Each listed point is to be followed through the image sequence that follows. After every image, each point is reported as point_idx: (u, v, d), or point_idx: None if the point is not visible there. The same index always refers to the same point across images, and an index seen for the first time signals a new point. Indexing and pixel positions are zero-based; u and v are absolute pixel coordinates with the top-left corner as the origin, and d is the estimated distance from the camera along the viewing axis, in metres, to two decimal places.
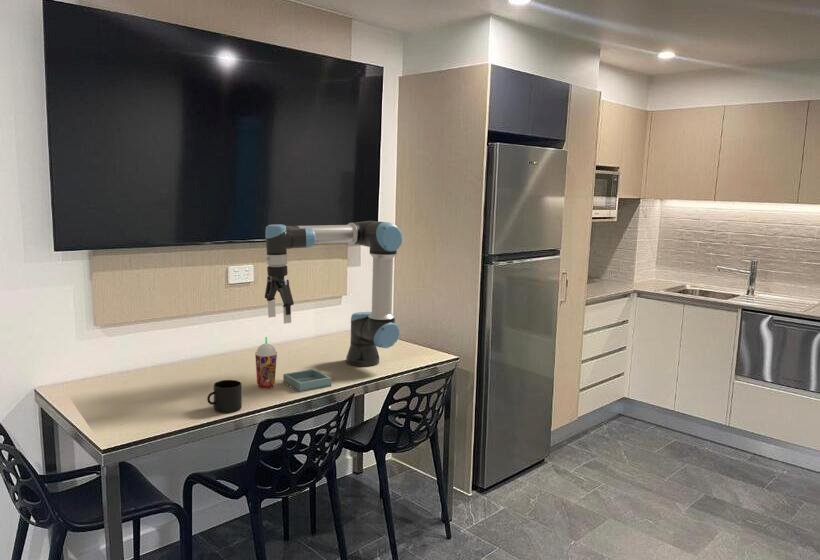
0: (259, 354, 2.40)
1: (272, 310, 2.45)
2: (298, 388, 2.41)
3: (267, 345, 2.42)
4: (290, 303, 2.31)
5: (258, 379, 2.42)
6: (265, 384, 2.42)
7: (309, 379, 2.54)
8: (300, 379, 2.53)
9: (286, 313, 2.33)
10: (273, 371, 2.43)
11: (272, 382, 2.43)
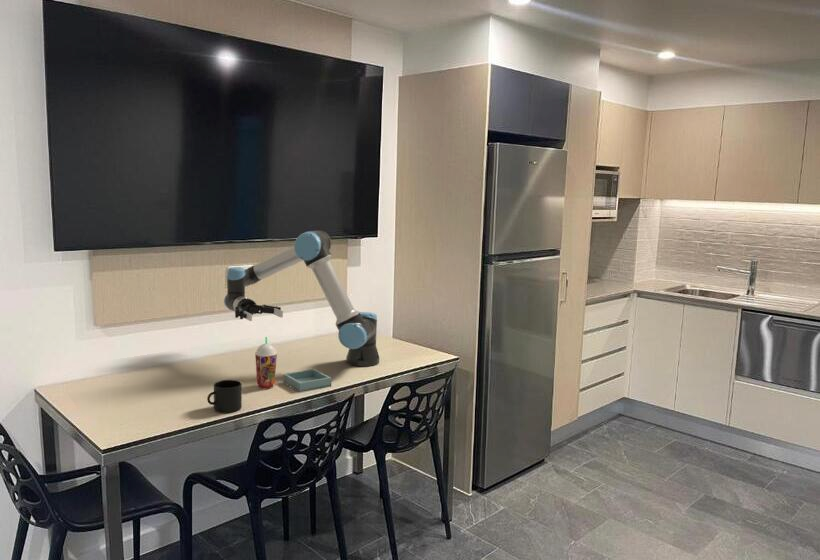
0: (259, 354, 2.40)
1: (278, 312, 2.60)
2: (298, 388, 2.41)
3: (267, 345, 2.42)
4: (235, 314, 2.54)
5: (258, 379, 2.42)
6: (265, 384, 2.42)
7: (309, 379, 2.54)
8: (300, 379, 2.53)
9: (244, 317, 2.53)
10: (273, 371, 2.43)
11: (272, 382, 2.43)
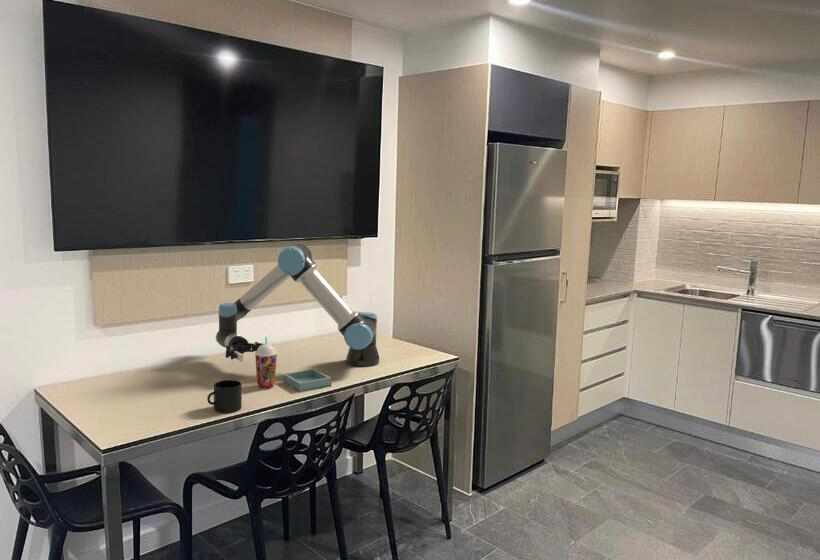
0: (259, 354, 2.40)
1: None
2: (298, 388, 2.41)
3: (267, 345, 2.42)
4: (226, 354, 2.49)
5: (258, 379, 2.42)
6: (265, 384, 2.42)
7: (309, 379, 2.54)
8: (300, 379, 2.53)
9: (235, 358, 2.47)
10: (273, 371, 2.43)
11: (272, 382, 2.43)
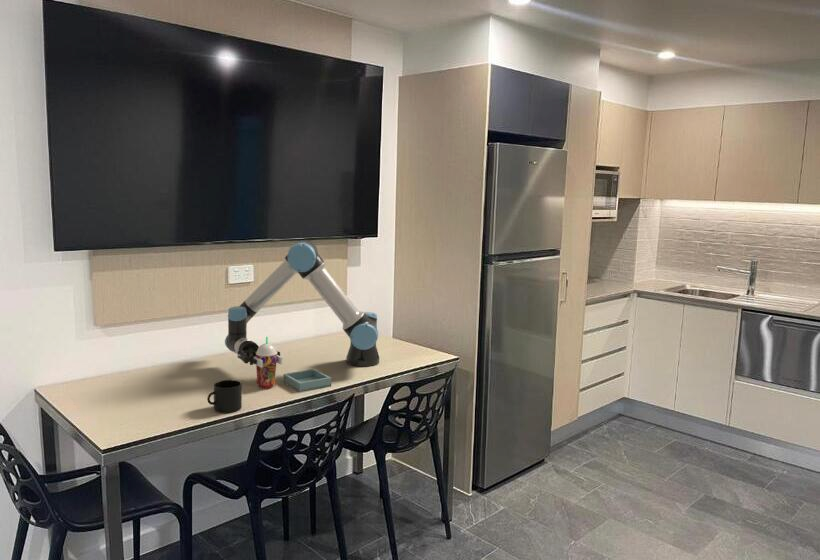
0: (259, 354, 2.40)
1: (277, 359, 2.44)
2: (298, 388, 2.41)
3: (268, 345, 2.42)
4: (245, 360, 2.42)
5: (258, 379, 2.42)
6: (265, 384, 2.42)
7: (309, 379, 2.54)
8: (300, 379, 2.53)
9: (255, 363, 2.40)
10: (273, 371, 2.43)
11: (272, 382, 2.43)
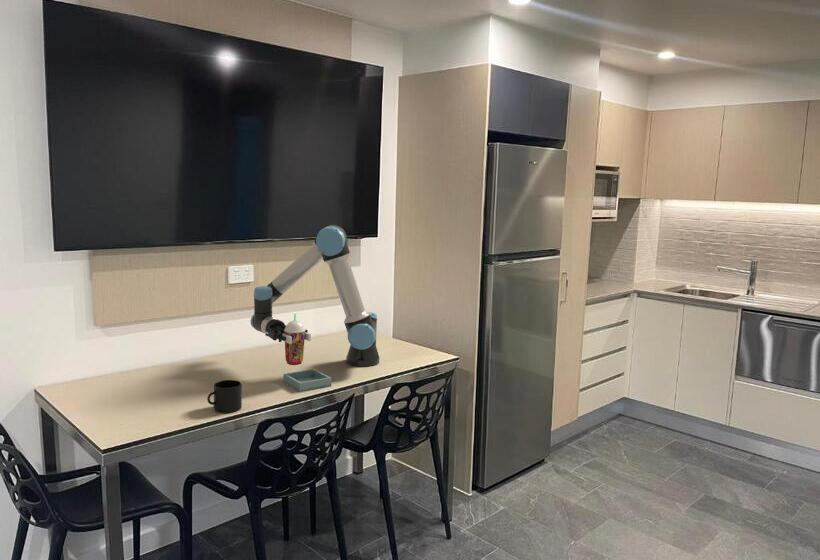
0: (288, 331, 2.42)
1: (305, 336, 2.47)
2: (298, 388, 2.41)
3: (296, 322, 2.44)
4: (273, 337, 2.44)
5: (287, 356, 2.45)
6: (294, 361, 2.44)
7: (309, 379, 2.54)
8: (300, 379, 2.53)
9: None
10: (302, 348, 2.45)
11: (301, 359, 2.46)
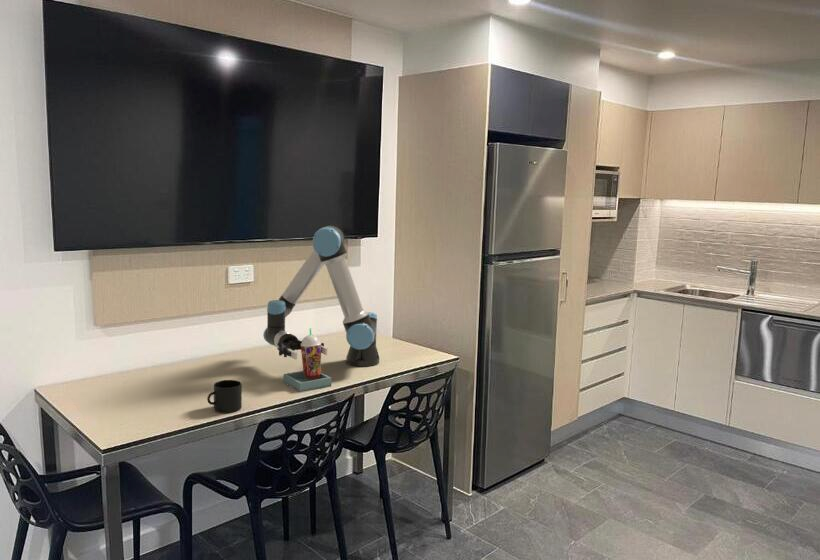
0: (304, 345, 2.47)
1: (322, 349, 2.52)
2: (298, 388, 2.41)
3: (311, 336, 2.49)
4: (279, 352, 2.46)
5: (304, 370, 2.49)
6: (311, 374, 2.48)
7: (309, 379, 2.54)
8: (300, 379, 2.53)
9: (289, 355, 2.44)
10: (318, 361, 2.49)
11: (318, 372, 2.50)
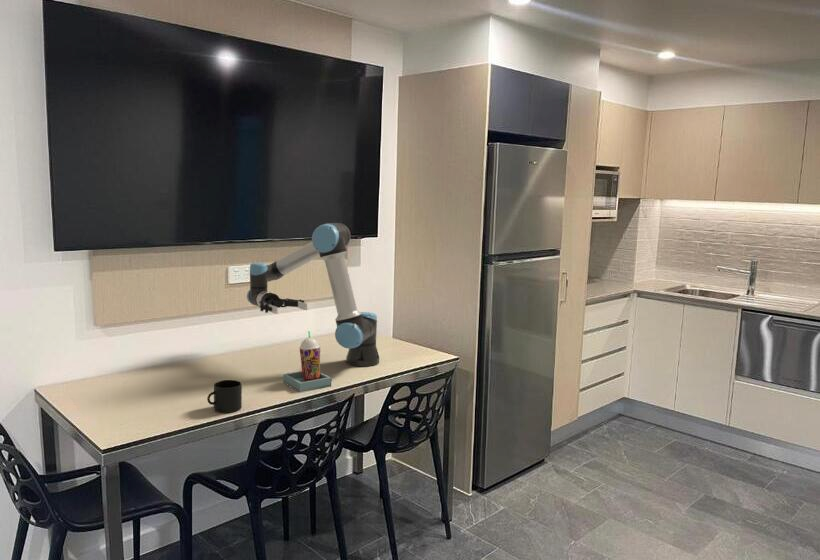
0: (302, 347, 2.48)
1: (302, 305, 2.62)
2: (298, 388, 2.41)
3: (310, 339, 2.49)
4: (260, 308, 2.56)
5: (303, 372, 2.50)
6: (310, 377, 2.48)
7: None
8: (300, 379, 2.53)
9: (270, 310, 2.55)
10: (317, 364, 2.49)
11: (317, 375, 2.50)
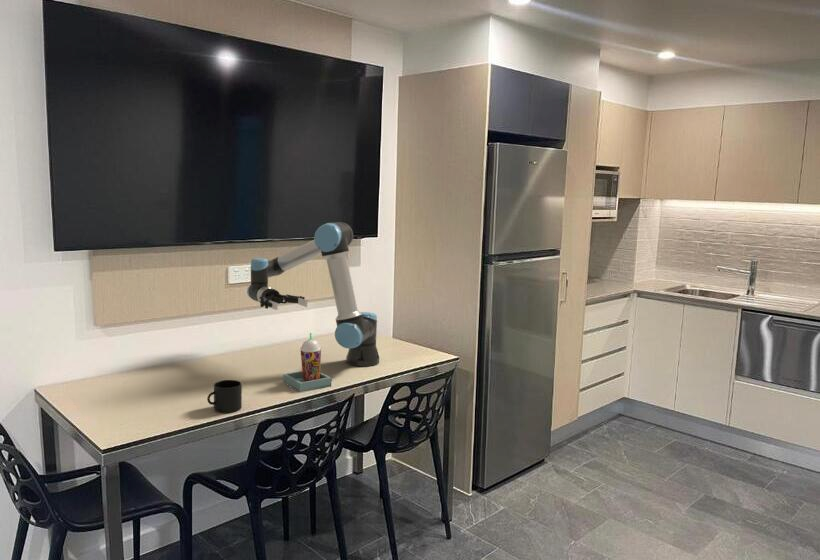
0: (304, 350, 2.46)
1: (302, 302, 2.62)
2: (298, 388, 2.41)
3: (311, 341, 2.47)
4: (260, 303, 2.56)
5: (303, 373, 2.49)
6: (310, 379, 2.48)
7: None
8: (300, 379, 2.53)
9: (270, 306, 2.55)
10: (318, 366, 2.49)
11: (317, 377, 2.49)
